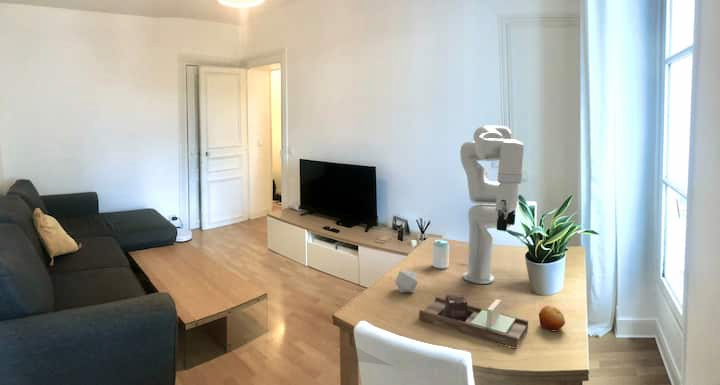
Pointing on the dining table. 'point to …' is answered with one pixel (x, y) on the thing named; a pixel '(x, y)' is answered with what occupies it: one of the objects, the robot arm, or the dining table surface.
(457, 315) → the box
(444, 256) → the can
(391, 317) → the dining table surface
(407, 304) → the dining table surface
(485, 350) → the dining table surface
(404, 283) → the die
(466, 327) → the brown wooden tray
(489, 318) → the lid
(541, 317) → the fruit
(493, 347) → the dining table surface
